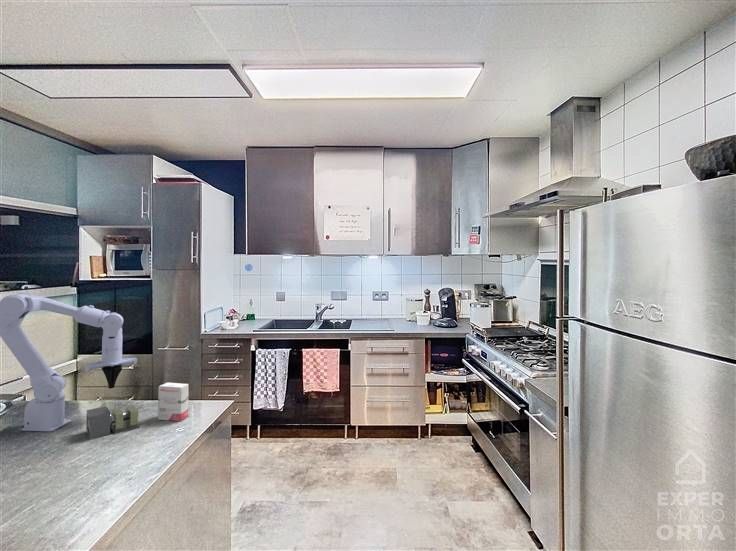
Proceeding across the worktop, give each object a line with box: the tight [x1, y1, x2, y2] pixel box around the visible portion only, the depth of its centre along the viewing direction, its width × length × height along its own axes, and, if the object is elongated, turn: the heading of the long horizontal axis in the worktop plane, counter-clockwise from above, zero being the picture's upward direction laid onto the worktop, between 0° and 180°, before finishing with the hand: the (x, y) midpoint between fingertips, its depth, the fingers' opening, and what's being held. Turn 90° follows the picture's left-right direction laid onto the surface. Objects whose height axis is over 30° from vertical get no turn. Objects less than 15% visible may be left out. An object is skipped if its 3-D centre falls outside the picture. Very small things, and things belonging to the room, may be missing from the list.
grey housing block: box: [85, 405, 112, 440], centre depth 112 cm, size 5×7×7 cm
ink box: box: [157, 382, 189, 422], centre depth 125 cm, size 9×5×12 cm, turn 84°
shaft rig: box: [88, 404, 141, 435], centre depth 115 cm, size 13×8×6 cm, turn 136°
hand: (111, 387), depth 124 cm, fingers closed
